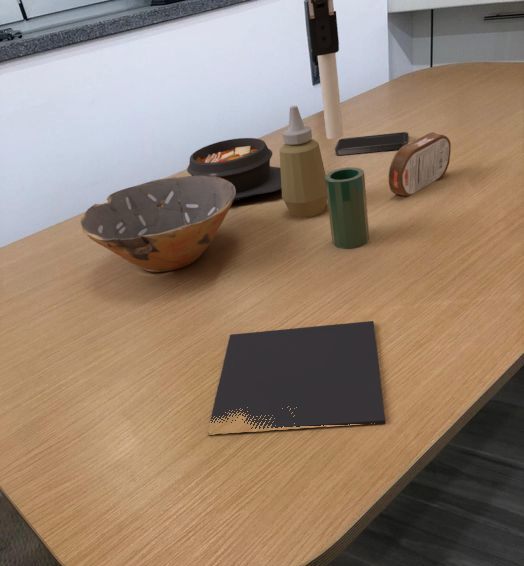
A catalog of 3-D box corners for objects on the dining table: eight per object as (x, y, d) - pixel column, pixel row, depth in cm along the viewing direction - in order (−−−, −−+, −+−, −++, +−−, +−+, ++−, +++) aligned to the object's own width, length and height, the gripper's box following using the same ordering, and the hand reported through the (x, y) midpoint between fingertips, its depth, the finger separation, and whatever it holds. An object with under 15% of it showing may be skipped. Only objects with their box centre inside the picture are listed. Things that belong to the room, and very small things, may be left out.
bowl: (228, 294, 86) (213, 230, 80) (74, 303, 92) (50, 244, 86) (260, 221, 106) (249, 165, 100) (131, 232, 112) (115, 180, 106)
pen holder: (368, 233, 94) (363, 165, 88) (370, 249, 90) (365, 178, 83) (332, 238, 95) (324, 170, 89) (333, 254, 91) (324, 183, 84)
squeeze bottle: (296, 203, 110) (281, 101, 99) (337, 204, 106) (326, 98, 96) (277, 222, 104) (259, 115, 94) (321, 224, 100) (307, 113, 90)
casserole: (161, 212, 118) (149, 170, 113) (198, 177, 132) (189, 139, 127) (280, 208, 109) (273, 163, 104) (307, 171, 123) (302, 129, 118)
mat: (373, 324, 73) (373, 320, 73) (385, 424, 59) (385, 420, 59) (230, 337, 76) (230, 334, 76) (208, 435, 62) (207, 432, 62)
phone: (406, 143, 123) (334, 150, 127) (407, 148, 123) (334, 155, 128) (408, 131, 129) (339, 138, 133) (408, 136, 129) (339, 143, 134)
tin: (438, 172, 110) (438, 125, 106) (454, 174, 108) (454, 126, 103) (387, 202, 103) (385, 153, 98) (403, 205, 101) (401, 155, 96)
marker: (343, 132, 81) (331, -3, 72) (344, 138, 79) (330, -1, 70) (326, 135, 81) (311, 0, 72) (325, 140, 79) (310, 3, 70)
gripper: (342, -153, 56) (358, 58, 67) (341, -140, 69) (355, 35, 80) (264, -135, 58) (292, 70, 68) (277, -125, 71) (299, 45, 81)
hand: (326, 50), depth 74 cm, fingers closed on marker, 2 cm apart
